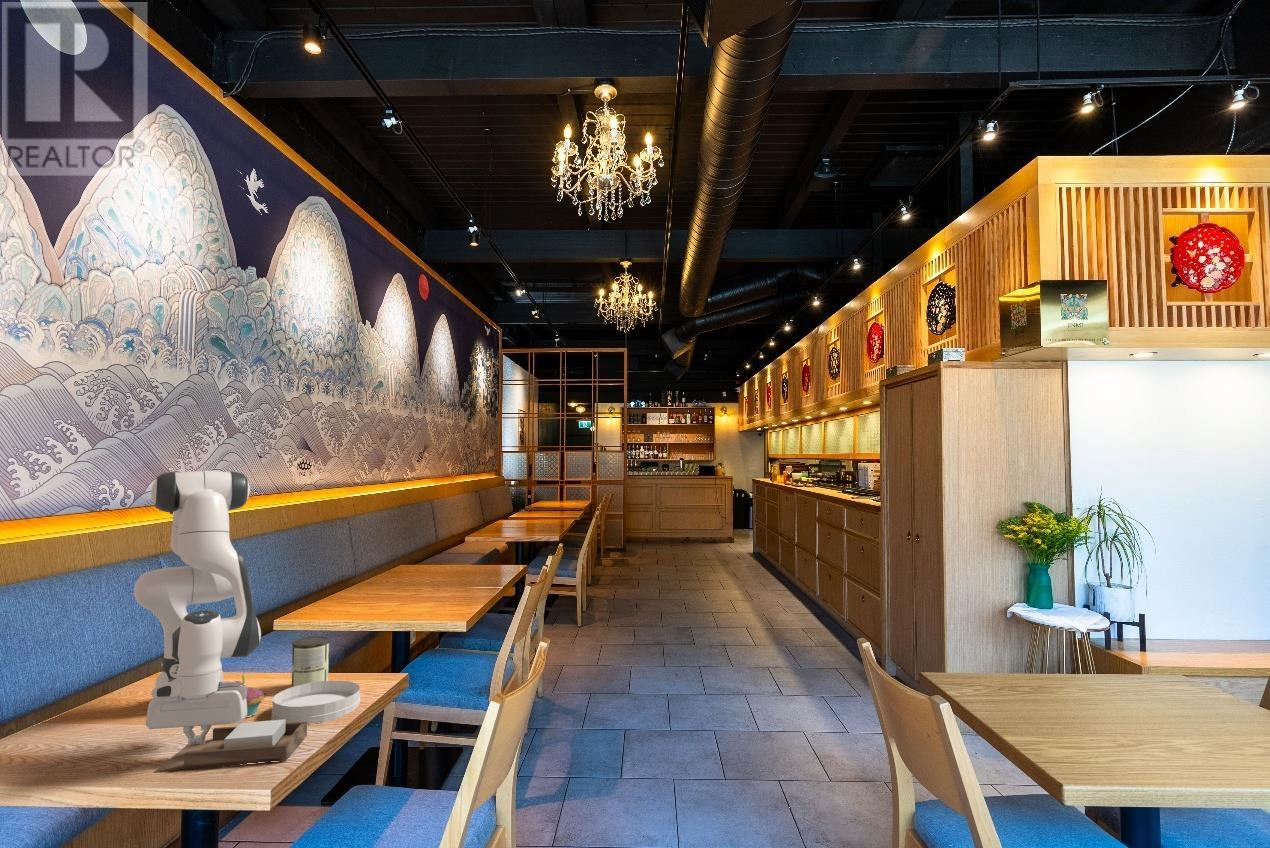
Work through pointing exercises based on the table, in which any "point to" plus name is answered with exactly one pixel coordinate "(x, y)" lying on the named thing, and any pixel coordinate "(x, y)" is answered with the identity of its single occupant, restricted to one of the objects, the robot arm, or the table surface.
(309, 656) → the coffee can
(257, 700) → the cupcake
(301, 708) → the dish
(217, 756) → the dock
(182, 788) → the table surface
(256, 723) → the grey square tile
